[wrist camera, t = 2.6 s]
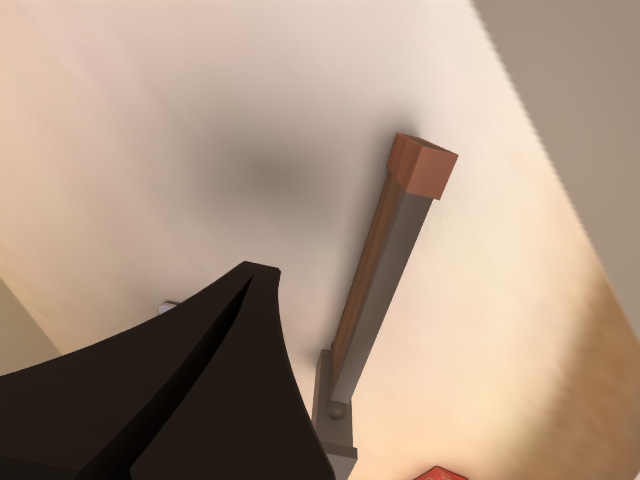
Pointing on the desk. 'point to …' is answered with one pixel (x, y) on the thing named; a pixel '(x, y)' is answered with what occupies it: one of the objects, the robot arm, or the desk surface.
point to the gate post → (332, 424)
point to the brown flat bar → (385, 257)
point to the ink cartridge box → (439, 475)
